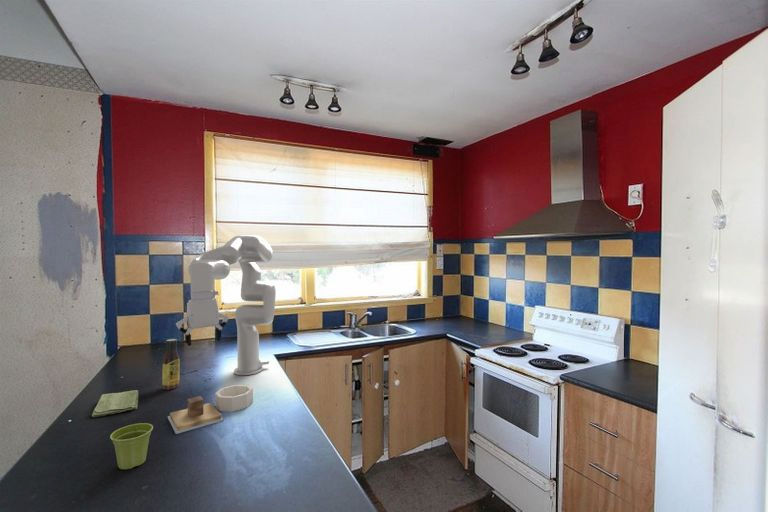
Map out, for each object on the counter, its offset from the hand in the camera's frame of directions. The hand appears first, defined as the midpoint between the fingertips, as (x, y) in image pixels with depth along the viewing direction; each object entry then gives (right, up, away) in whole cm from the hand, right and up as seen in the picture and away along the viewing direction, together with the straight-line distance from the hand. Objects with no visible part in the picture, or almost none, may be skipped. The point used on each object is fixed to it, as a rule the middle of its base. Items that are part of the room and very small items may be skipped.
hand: (203, 342), depth 131 cm
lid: (+2, -23, -9) cm, 25 cm away
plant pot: (-2, -24, -34) cm, 42 cm away
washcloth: (-33, -24, +2) cm, 41 cm away
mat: (+2, -24, -9) cm, 26 cm away
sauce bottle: (-23, -24, +20) cm, 39 cm away
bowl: (+10, -24, +3) cm, 26 cm away
